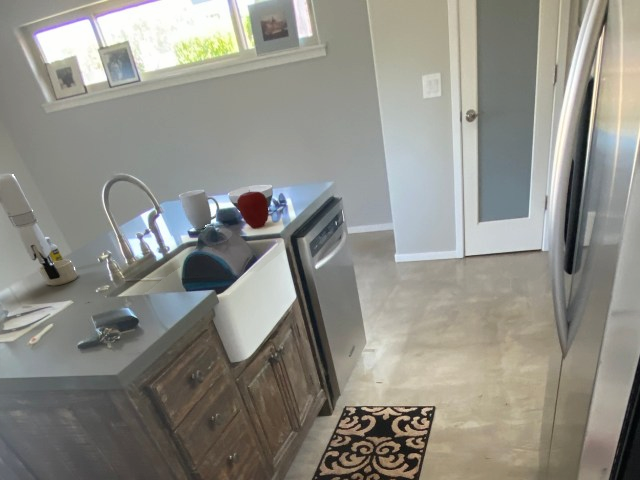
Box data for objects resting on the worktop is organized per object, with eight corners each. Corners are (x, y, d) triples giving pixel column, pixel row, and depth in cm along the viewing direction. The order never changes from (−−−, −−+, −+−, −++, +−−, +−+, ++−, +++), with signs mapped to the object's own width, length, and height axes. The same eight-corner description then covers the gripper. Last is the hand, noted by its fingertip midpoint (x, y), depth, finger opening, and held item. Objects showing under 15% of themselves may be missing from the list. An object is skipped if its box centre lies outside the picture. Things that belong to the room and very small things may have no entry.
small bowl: (44, 288, 182) (35, 272, 178) (48, 280, 190) (40, 264, 186) (77, 281, 184) (69, 265, 180) (80, 273, 192) (72, 257, 188)
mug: (220, 220, 230) (210, 186, 222) (226, 224, 223) (216, 189, 214) (187, 228, 226) (176, 194, 217) (193, 232, 218) (181, 197, 210)
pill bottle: (60, 274, 194) (43, 240, 186) (47, 275, 195) (29, 242, 188) (72, 268, 198) (55, 235, 191) (58, 269, 200) (41, 236, 192)
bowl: (265, 219, 220) (258, 194, 214) (226, 221, 226) (219, 197, 220) (285, 207, 233) (279, 183, 227) (248, 210, 239) (241, 186, 233)
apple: (277, 221, 214) (268, 184, 205) (265, 230, 206) (256, 191, 197) (251, 223, 218) (241, 187, 209) (239, 231, 209) (228, 194, 201)
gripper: (17, 217, 172) (48, 274, 184) (6, 227, 161) (40, 287, 173) (40, 212, 173) (69, 269, 185) (30, 221, 162) (62, 281, 174)
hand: (55, 278), depth 179 cm, fingers closed
